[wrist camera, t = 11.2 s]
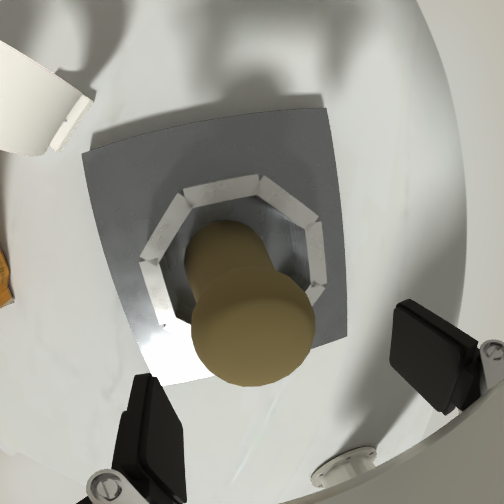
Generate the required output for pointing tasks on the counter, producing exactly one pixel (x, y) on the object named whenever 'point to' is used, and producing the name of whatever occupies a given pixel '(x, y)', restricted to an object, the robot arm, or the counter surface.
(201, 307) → the cork
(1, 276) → the pancake mix bag
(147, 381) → the robot arm
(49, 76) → the headphone stand
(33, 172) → the counter surface
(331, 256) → the plate
